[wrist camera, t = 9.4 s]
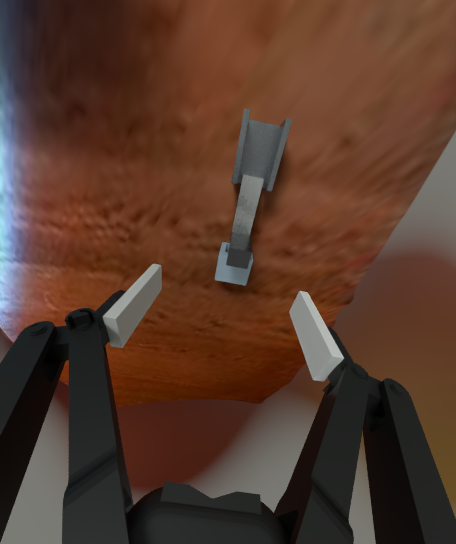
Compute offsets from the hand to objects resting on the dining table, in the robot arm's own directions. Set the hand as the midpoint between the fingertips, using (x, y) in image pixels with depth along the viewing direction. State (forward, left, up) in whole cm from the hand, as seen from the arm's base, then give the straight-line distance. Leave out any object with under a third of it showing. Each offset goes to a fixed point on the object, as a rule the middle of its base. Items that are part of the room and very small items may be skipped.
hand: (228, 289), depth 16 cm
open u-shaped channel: (-13, +1, -23) cm, 26 cm away
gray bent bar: (-1, +1, -22) cm, 22 cm away
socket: (+7, +1, -23) cm, 24 cm away
